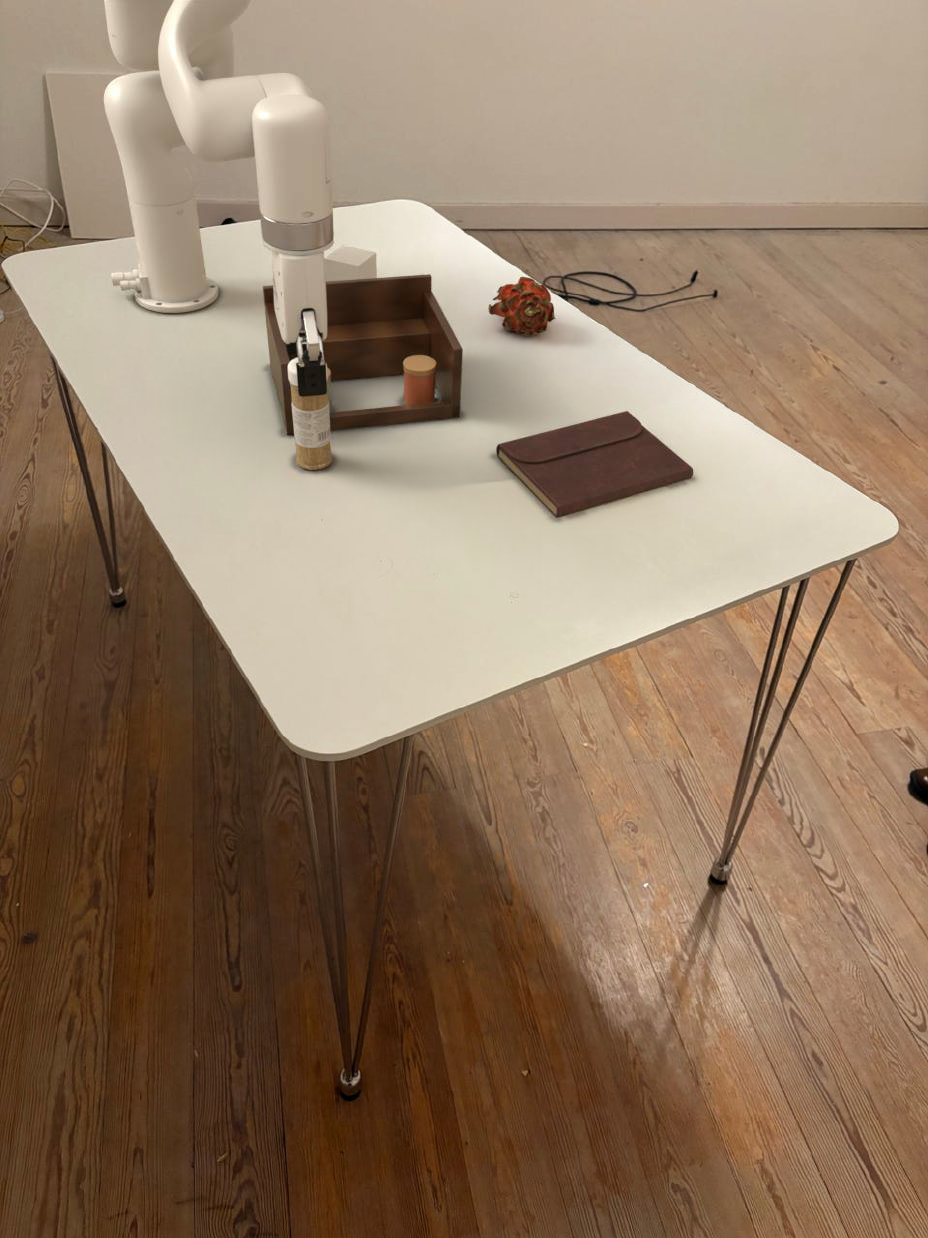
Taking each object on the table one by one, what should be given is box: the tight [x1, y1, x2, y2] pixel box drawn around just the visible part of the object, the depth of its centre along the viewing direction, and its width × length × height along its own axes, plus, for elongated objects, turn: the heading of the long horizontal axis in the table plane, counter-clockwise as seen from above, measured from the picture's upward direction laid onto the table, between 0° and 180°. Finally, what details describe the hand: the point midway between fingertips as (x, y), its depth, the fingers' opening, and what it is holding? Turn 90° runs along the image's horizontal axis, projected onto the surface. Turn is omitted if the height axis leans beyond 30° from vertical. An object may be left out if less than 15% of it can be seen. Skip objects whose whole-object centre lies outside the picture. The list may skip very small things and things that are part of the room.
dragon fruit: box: [487, 276, 556, 337], centre depth 153 cm, size 8×8×12 cm
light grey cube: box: [324, 244, 378, 282], centre depth 160 cm, size 6×6×6 cm
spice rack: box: [262, 273, 464, 436], centre depth 135 cm, size 23×18×12 cm
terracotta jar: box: [403, 355, 436, 405], centre depth 136 cm, size 4×4×6 cm
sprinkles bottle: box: [288, 357, 333, 471], centre depth 122 cm, size 5×5×13 cm
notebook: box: [495, 410, 694, 519], centre depth 127 cm, size 15×20×2 cm
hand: (306, 372), depth 118 cm, fingers open, 9 cm apart
